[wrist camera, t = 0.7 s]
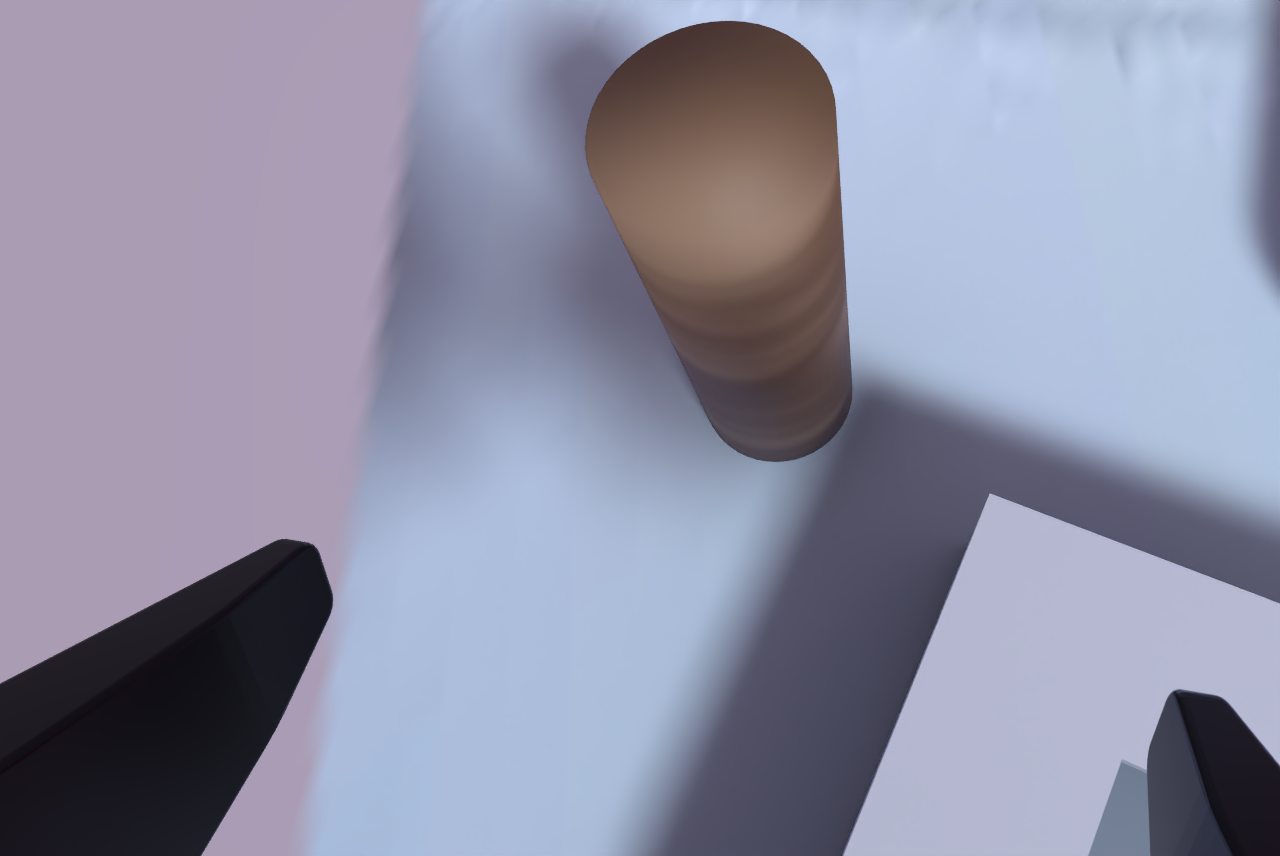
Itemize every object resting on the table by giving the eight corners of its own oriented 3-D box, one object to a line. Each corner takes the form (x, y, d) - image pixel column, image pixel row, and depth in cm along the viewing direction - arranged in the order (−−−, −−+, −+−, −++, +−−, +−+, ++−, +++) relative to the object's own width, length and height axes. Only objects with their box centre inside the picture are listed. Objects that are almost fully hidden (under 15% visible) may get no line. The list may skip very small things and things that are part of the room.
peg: (816, 484, 25) (771, 270, 14) (681, 430, 27) (543, 196, 15) (875, 352, 26) (876, 51, 15) (741, 305, 27) (650, -2, 16)
